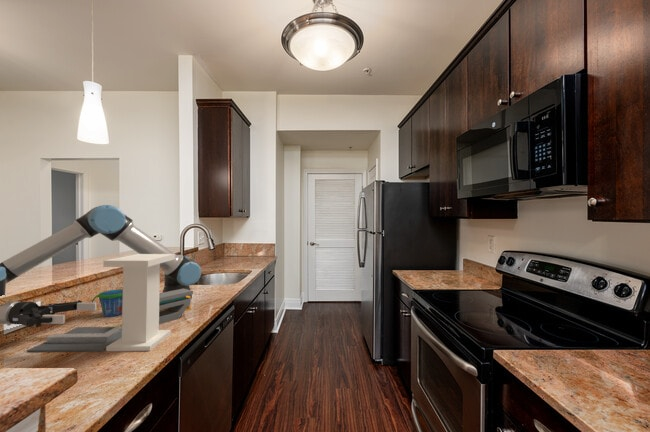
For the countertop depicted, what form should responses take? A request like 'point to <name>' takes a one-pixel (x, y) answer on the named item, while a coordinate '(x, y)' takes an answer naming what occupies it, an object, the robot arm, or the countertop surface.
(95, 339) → the bracket
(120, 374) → the countertop surface
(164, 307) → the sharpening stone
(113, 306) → the snack cup
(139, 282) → the stand
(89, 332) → the mat
